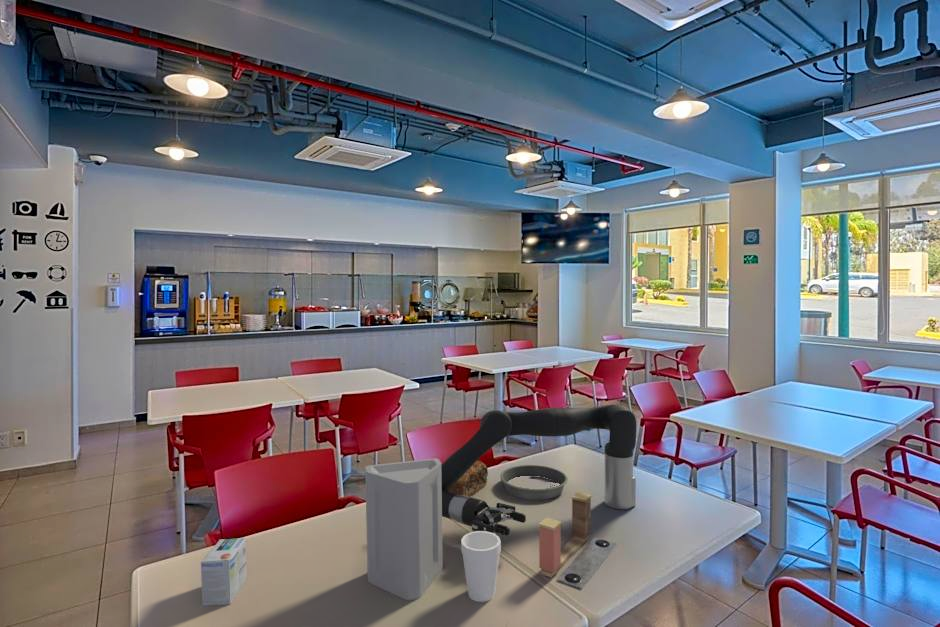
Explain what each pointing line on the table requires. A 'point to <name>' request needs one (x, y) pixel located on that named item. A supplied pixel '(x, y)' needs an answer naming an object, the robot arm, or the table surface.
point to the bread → (471, 480)
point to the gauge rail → (572, 542)
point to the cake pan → (534, 471)
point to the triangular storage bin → (404, 526)
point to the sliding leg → (550, 544)
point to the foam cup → (481, 563)
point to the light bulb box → (223, 572)
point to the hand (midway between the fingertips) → (517, 525)
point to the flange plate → (587, 562)
